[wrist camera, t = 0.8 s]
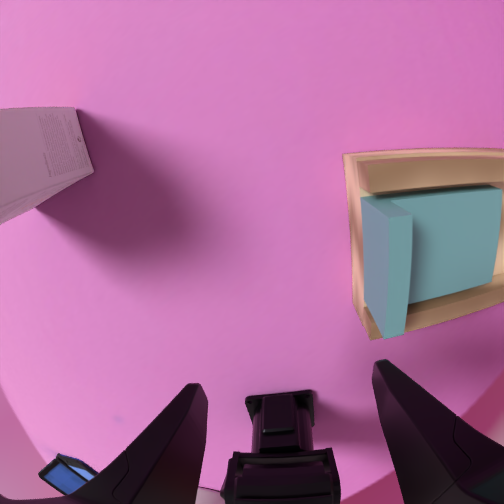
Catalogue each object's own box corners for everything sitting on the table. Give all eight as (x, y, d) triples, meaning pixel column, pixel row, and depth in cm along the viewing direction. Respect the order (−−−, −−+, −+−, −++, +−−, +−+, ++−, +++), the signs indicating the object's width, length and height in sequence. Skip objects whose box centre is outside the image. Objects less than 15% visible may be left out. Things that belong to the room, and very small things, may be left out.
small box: (77, 105, 16) (-36, 108, 6) (97, 173, 18) (-14, 214, 8) (16, 152, 17) (-77, 179, 8) (33, 209, 19) (-56, 257, 10)
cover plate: (480, 272, 16) (511, 300, 12) (363, 299, 17) (383, 339, 14) (488, 184, 14) (528, 200, 10) (360, 197, 15) (388, 217, 11)
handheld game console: (122, 488, 46) (113, 516, 37) (88, 479, 48) (78, 504, 40) (80, 458, 40) (67, 489, 32) (48, 449, 43) (35, 475, 34)
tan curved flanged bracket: (501, 267, 19) (531, 292, 15) (352, 302, 21) (369, 342, 16) (509, 149, 15) (548, 158, 11) (342, 153, 17) (367, 160, 12)
